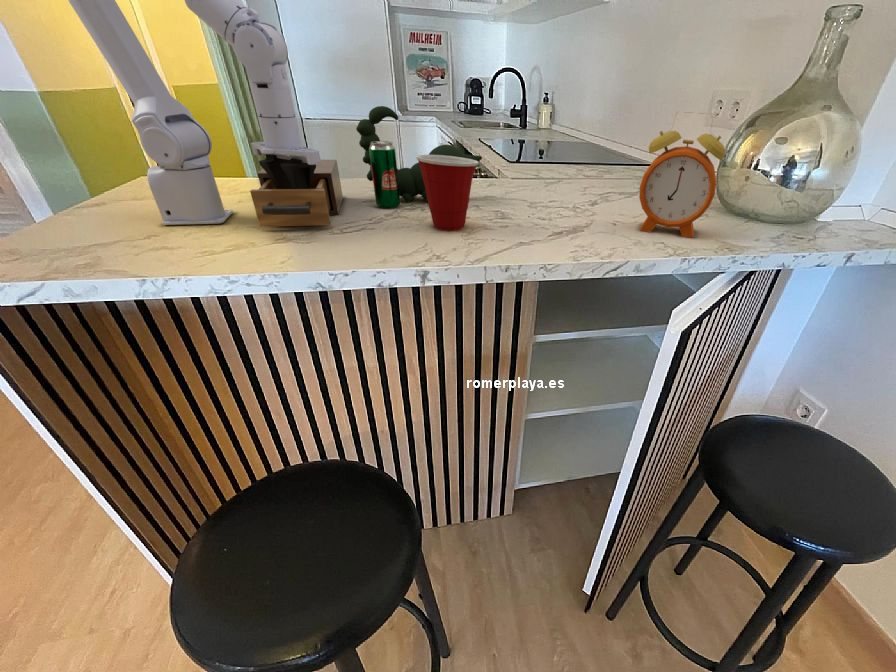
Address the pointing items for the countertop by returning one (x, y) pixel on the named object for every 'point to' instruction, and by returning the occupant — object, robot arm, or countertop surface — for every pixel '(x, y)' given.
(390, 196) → the soda can
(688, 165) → the alarm clock
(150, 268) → the countertop surface
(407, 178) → the toy figurine
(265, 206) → the drawer
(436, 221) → the plastic cup
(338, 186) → the cabinet
